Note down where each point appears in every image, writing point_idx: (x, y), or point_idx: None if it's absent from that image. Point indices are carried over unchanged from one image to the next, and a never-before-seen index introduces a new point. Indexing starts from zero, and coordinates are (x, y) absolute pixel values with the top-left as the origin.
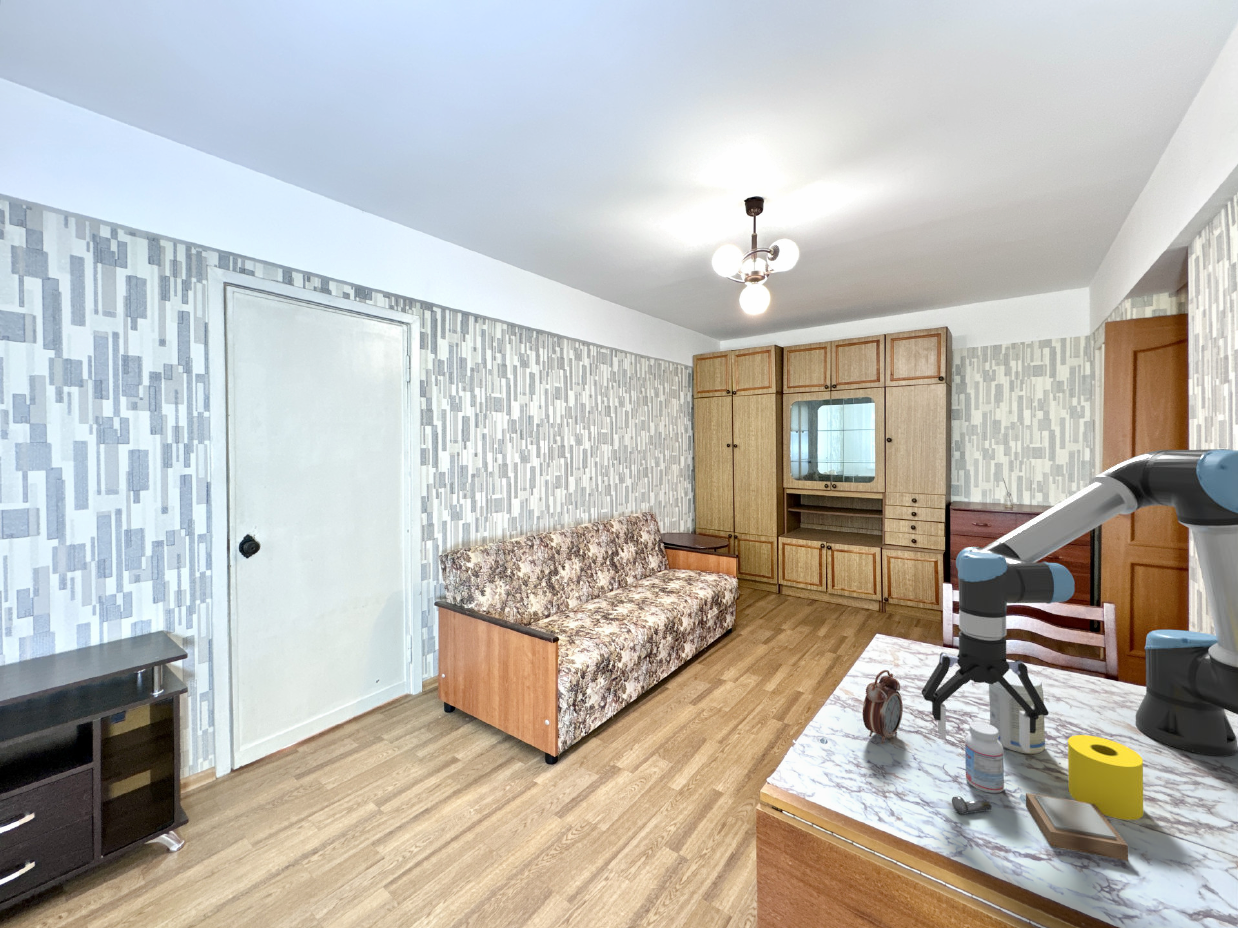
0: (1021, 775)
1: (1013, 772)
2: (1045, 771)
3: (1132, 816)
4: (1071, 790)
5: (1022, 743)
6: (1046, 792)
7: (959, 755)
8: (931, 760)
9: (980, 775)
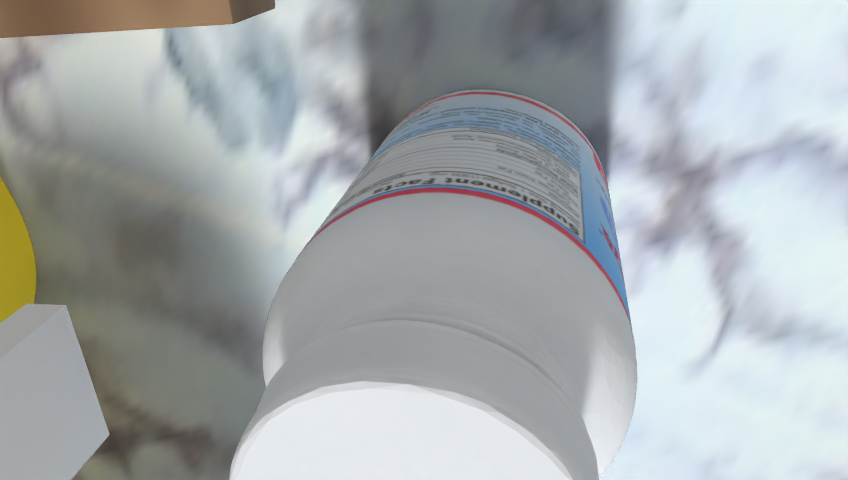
0: (248, 352)
1: None
2: (127, 417)
3: None
4: (2, 238)
5: (53, 396)
6: (141, 216)
7: None
8: (784, 385)
9: (536, 127)
